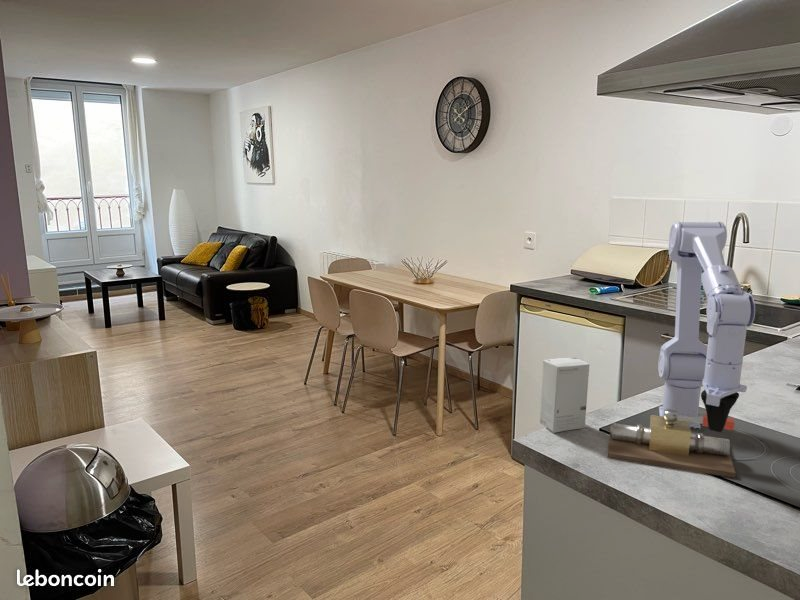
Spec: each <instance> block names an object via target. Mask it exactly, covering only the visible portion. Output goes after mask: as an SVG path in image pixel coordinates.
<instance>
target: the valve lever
mask: <svg viewBox="0 0 800 600" xmlns="http://www.w3.org/2000/svg"><path fill="white" fill-rule="evenodd" d="M664 419H666V420H668V421H677V420H681V421H688V422H695V423H700V425H702V426H703V427H708V420H707V413H706V414H705V413H703V414H702V415H699V414H698V415H692V414H685V413H679V412H678V411H676V410H672V409H666V410H664ZM708 428H709V427H708ZM734 428H735V418H733V417H728V418H727V421H726V424H725V426H724V428H723V430H726V431H727V430H728V431H734Z"/></svg>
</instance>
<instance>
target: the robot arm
mask: <svg viewBox="0 0 800 600" xmlns="http://www.w3.org/2000/svg"><path fill="white" fill-rule="evenodd" d="M726 226H727V225H725V223H724V222H723V221H717V222H713V221H711V222H710V221H707V222H705V221H704V222H702V221H700V222H699V221H698V222H696V221H691V222H690V221H678V220H677V221H674V223H673V224H672V225H671V227H670V231H669V235H668V255H669V256H668V257H669V258H668V260H670V261H673V263H676V270H677V271H676V273H677V275H676V276H677V277H676V294H675V295H676V297H675V322H674V323H675V324H674V325H675V326H674V337H672V338H671V339H670V340H668V341H666V342H665V343H663V345H661V347H660V350H659V357H658V363H657V365H658V366H657V369H658V375H659V378H660V379H661V380H662V381H664V389H663V399H662V405H661V406H659V407H658V412H659V416H663V417H664V410H666V409H672V410H676V411H678V412H679V413H685V414H692V415H699V407H700V399H701V400H702V403H703V405H704V407H705V411H706V415H707V420H708V430H709V431H713V432H715V433H716V432H717V433H722V432H723V430H724V429H723V428H724V426H725V424H726V421H727V418H729V413H730V411H731V409H732V408H733V407H734V405H735V404H736V402H737V401H738V398H739V397H740V393H746V392H747V390H748V386H747V385H743V384H741V377H742V376H741V375H742V367H743V361H744V360H743V359H744V354H745V353H744V352H745V345H746V339H747V338H746V336H747V329H748V327H750V328H751V326H752V325H753V323H754V321H755V318H756V317H755V316H756V303H755V300H754V296H753V295H752V294H751V293H749V292H747V291H746V290H743V289H742V287H741V284H740V282H739V280H738V278H737V277H738V276H737V274H736V273H735V271H734V269H733V268H732V267H731V266H729V265H727V264H725V263H726V262H725V259H724V253H723V250H724V248H725V246H726V245H727V238H728V230H727V227H726ZM702 271H703V272H702ZM702 287H703V290H704V294H705V296H706V299H707V303H706V309H705V310H706V320H707V321H706V322H707V323H706V332H707V333H708V339H707V341H708V342H707V345H706V344H705V343H703V342H702V341H701V340H700V338H699V337H700V319H701V318H700V317H701V316H700V315H701V313H700V312H701V292H702V291H701V290H702ZM702 387H703V389H704V390H702V389H701V388H702ZM701 390H702V391H701ZM689 424H690V427H694V428H693V429H696V428H699V429H698V430H700V429H701V423H695V422H689Z"/></svg>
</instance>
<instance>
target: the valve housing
mask: <svg viewBox="0 0 800 600" xmlns="http://www.w3.org/2000/svg"><path fill="white" fill-rule="evenodd" d="M649 419H650V420H649V427H644V426H643V425H642V424H636V425H628V424H622V423H621V424H620V423H616V422H615V423H614V422H613V423H612V425H613V432H612V439H616V440H622V441H629V442H636V444H637V445H641V443H642V444H649V450H651V451H657V452H664V453H670V454H677V455H683V456H689V451H696V453H697V454H702V453H709V454H716V455H723V456H729V453H730V450H731V442H730V439H728V438H723V437H722V438H721V437H717V436H716V437H714V436H707V435H704V433H701V432H696V434H693V433H692V430H691V429H692V428H690V424H689V422H688V421H681V420H677V421H668V420H666V419H664V417H663V416H660V415H654V414H651V415H650V418H649Z"/></svg>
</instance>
